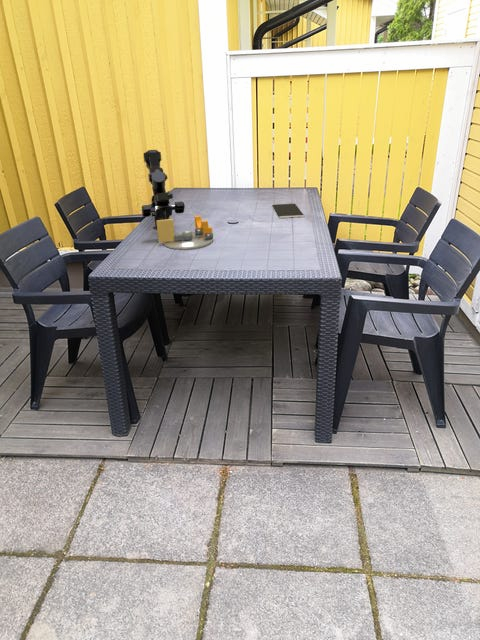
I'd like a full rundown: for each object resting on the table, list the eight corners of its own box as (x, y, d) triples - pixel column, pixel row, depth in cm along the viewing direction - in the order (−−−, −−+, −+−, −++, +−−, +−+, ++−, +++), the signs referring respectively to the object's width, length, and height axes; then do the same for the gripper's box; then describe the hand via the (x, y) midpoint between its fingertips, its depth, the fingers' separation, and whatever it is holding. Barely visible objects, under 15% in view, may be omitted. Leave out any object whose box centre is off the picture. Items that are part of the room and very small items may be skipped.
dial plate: (176, 233, 227) (175, 227, 226) (219, 236, 221) (219, 229, 220) (154, 248, 209) (154, 241, 207) (201, 251, 202) (201, 244, 201)
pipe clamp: (212, 234, 225) (211, 220, 222) (203, 235, 223) (202, 222, 220) (203, 228, 235) (202, 215, 232) (195, 229, 233) (194, 216, 230)
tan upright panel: (191, 236, 216) (189, 215, 212) (193, 239, 213) (192, 218, 208) (158, 240, 213) (155, 219, 208) (159, 243, 209) (157, 222, 205)
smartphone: (279, 220, 245) (279, 216, 244) (271, 207, 269) (271, 204, 268) (304, 218, 246) (304, 215, 245) (295, 206, 270) (295, 203, 269)
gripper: (139, 186, 205) (145, 218, 200) (181, 182, 210) (189, 213, 205) (139, 201, 215) (145, 231, 211) (180, 197, 220) (187, 226, 215)
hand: (166, 225), depth 210 cm, fingers closed
